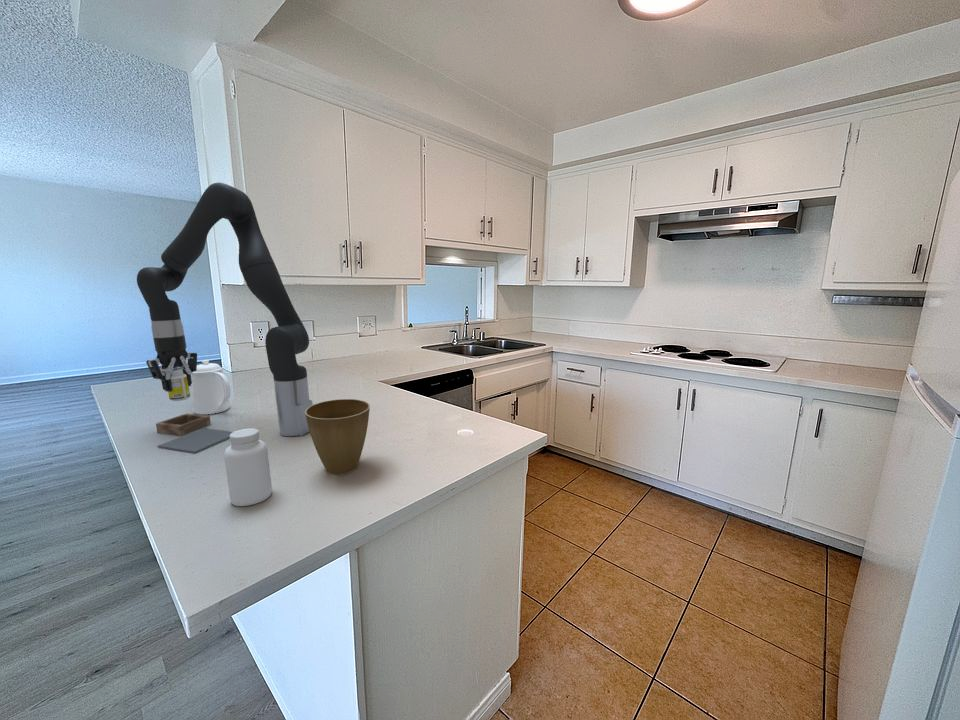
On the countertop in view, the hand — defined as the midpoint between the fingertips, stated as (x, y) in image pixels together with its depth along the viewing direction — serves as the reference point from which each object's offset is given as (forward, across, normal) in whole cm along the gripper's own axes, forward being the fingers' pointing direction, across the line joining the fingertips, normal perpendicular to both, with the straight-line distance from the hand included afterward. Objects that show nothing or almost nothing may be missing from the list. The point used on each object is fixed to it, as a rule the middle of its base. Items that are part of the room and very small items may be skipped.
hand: (178, 388), depth 121 cm
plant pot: (+14, -9, -65) cm, 67 cm away
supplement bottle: (+4, 0, 0) cm, 4 cm away
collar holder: (+13, 0, 0) cm, 13 cm away
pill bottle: (+14, -26, -54) cm, 61 cm away
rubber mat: (+14, -6, -14) cm, 20 cm away
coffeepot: (+13, +16, +8) cm, 23 cm away
